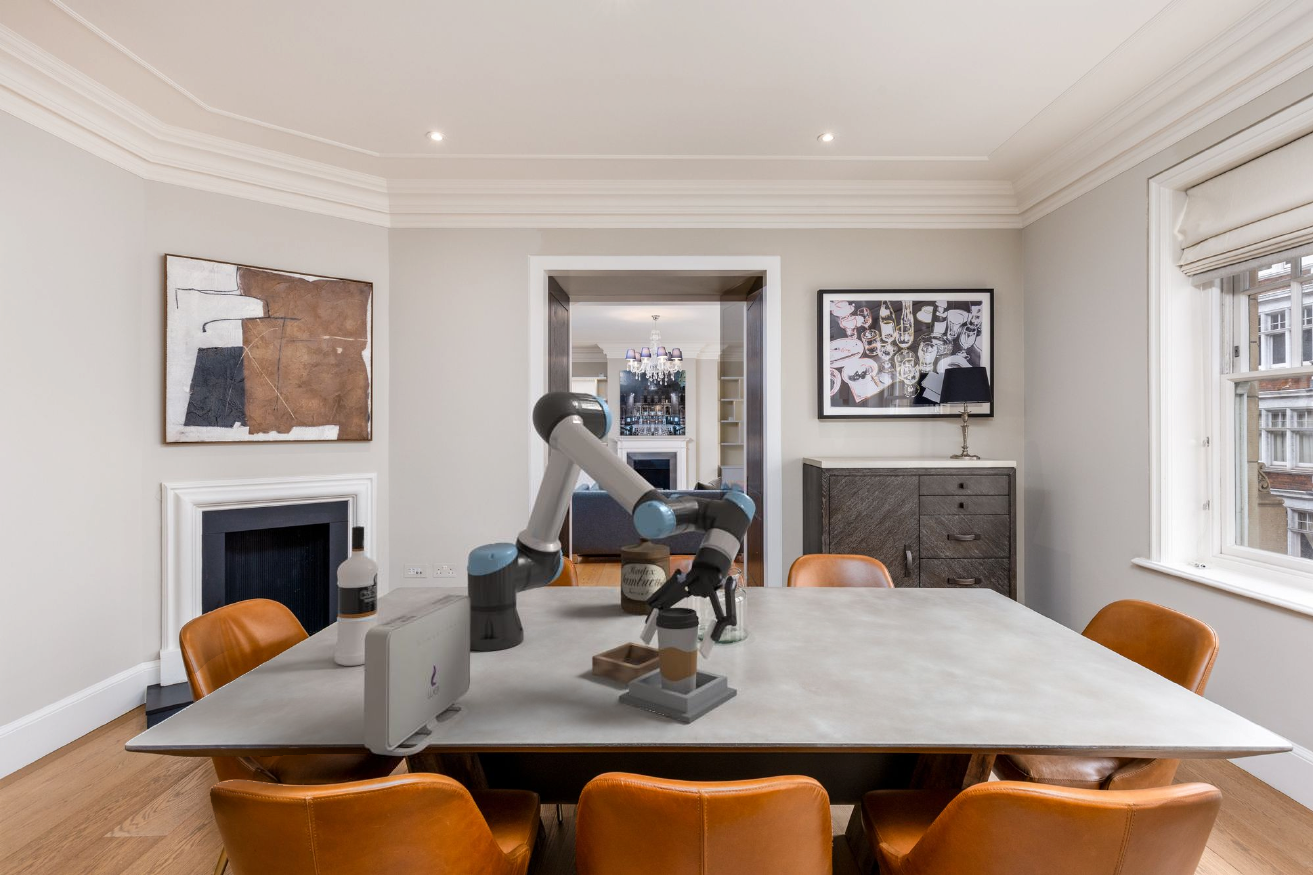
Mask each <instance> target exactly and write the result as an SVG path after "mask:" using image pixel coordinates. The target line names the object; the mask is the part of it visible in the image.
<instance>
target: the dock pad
mask: <svg viewBox="0 0 1313 875" xmlns="http://www.w3.org/2000/svg"><path fill="white" fill-rule="evenodd" d="M737 694H738V691H737V689H736V688H732V687H728V676H725V675H722V674H718V673H714V672H710V671H706V670H702V669H697V672H696V688H695V690H694V691H692V692H690V693H689V694H687V695H684V694H680V693H677V692H673V691H670V690H666V689H663V688H662V684H661V673H660V668H658V669H656V670H654V671H652V672H649V673H647V674H645V675H643V676H641V677H638V678H636V679H634V680H632V681H629V684H628V691H626V692H624V693H622V694H620V695H618V702H620V701H621V703H623V702H625V703H624V704H626V703H627V705H630V704H631V705H630V706H633V705H634V706H633V707H636V706H638V707H637V708H639V707H641V708H640V709H642V708H644V709H643V710H645V709H647V711H649V710H651V711H650V712H652V711H655V712H657V713H656V714H658V713H660V714H659V715H661V714H664V715H667V716H670V717H669V718H671V717H673V718H672V719H674V718H675V720H677V719H679V720H678V721H680V720H681V721H680V722H683V721H685V722H684V723H687V724H691V723H692V721H693V722H694V721H696V720H698V719H700V718H701V717H702V715H703V716H704V715H705V714H708V713H709V712H711V711H713V710H715V709H716V708H718V707H719V706H721V705H722V704H724V703H726V702H727V701H729V700H731V699H732V698H734V697H736V696H737ZM655 712H654V713H655ZM664 715H663V716H664ZM667 716H666V717H667ZM695 719H696V720H695Z"/></svg>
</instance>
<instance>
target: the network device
mask: <svg viewBox="0 0 1313 875" xmlns="http://www.w3.org/2000/svg"><path fill="white" fill-rule="evenodd" d="M363 672H364V673H363V674H364V675H363V676H364V677H363V678H364V683H363V686H364V687H363V688H364V689H363V690H364V692H363V693H364V694H363V703H364V704H363V706H364V707H363V745H364V747H365V748H366V749H370V751H371V752H372V753H373V754H376V755H386V756H392V757H393V756H394V757H395V756H396V757H403V756H411V755H414V754H417V753H420V752H421V751H422V750H424V749H425V748H426V747H428V746H429V745H430V744H431V743H433V742H434V741H435V740H436V739H437V738H439V737H440V736H441V735H442V734H443V733H445V732H446V731H447V730H448V729H449V728H451V727H452V726H453V725H454V724H455V723H456V722H458V721H459V720H460V719H461V718H463V717H464V716H465V715H466V714H467V706H466V705H464V704H461V703H457V701H458V700H460V699H461V698H462V697H464V696H465V695H466V694H467V693H468V692H469V690H470V684H471V650H470V598H469V596H468V594H467V595H464V594H462V595H461V594H460V595H459V594H447V595H444V596H441V597H439V598H437V599H435V600H433V601H429V602H428V603H426V604H423V605H421V606H419V607H415V608H413V609H412V610H409V611H407V612H404V613H402V614H401V615H398V616H395V617H393V618H391V619H389V620H386V621H383V622H382V623H378V624H377V625H376V626H374V627H372V628H370V629H369V630H368V632H367V633H366V636H365V660H364V671H363ZM455 702H456V703H455ZM445 710H452V711H458V712H456V713H455V714H454V715H453V716H451V718H449V719H447V720H446V721H440V722H439V721H438V720H437V716H439V715H440V714H441V713H443V712H444V711H445ZM415 733H419V734H429V735H428V736H427V737H425V738H424V739H423V740H422V741H420V742H419V743H418V744H416V745H415V746H412V747H409V748H404V747H403V748H402V747H398V746H399V745H401V744H402V743H404V741H406V740H407V739H409V738H410V737H412V735H414V734H415Z"/></svg>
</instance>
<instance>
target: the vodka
mask: <svg viewBox="0 0 1313 875" xmlns="http://www.w3.org/2000/svg"><path fill="white" fill-rule="evenodd" d="M378 571H379V566H378V563H377V562H376V561H375V560H373V559H371V558H370V557H368V556H367V555H365V526H361V525H356V526H353V527H352V528H351V556H350V557H348V558H347V559H345V560H344V561H343V562H342V563H340V565H339V566H338V568H337V571H336V576H337V582H336V583H337V585H338V586H337V587H338V590H337V592H338V594H337V595H338V598H337V599H338V601H337V602H338V604H337V605H338V606H337V613H338V614H337V617H336V621H337V639H336V640H337V641H336V648H335V650H334V658H333V659H334V661H335V663H336V664H337V665H339V666H342V667H356V666H363V665H364V660H365V636H366V633H367V632H368V630H369V629H370V628H372V627H374V626H376V625H378V616H379V613H378Z"/></svg>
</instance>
